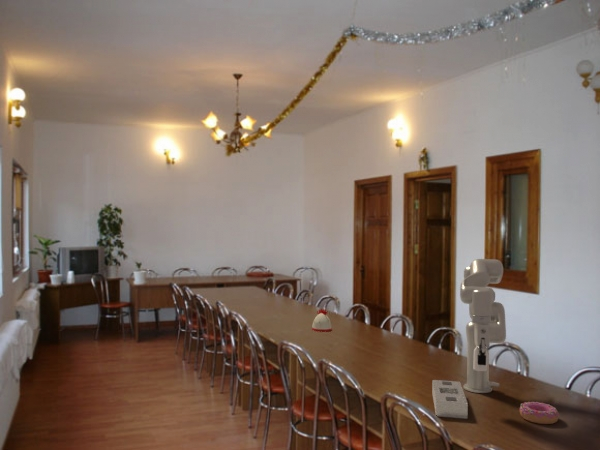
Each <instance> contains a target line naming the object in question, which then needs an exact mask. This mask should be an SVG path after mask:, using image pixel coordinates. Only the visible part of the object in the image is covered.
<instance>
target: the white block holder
mask: <svg viewBox="0 0 600 450" xmlns="http://www.w3.org/2000/svg"><path fill="white" fill-rule="evenodd" d="M431 382H432V383H431V384H432V385H431V387H432V389H431V390H432V391H431V392H432V401H433V404H434V405H433V407H434V412H435V416H436V415H437V416H436V417H440V418H441V417H443V418H455V419H465V420H467V419H468V414H469V413H468V410H469V409H468V407H469V405H468V404H469V403H468V400H467V398H466V394H465V392H464V388H463V387H462V383H461V381H456V380H455V381H453V380H442V379H441V380H439V379H432V381H431Z"/></svg>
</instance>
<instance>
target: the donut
mask: <svg viewBox="0 0 600 450" xmlns="http://www.w3.org/2000/svg"><path fill="white" fill-rule="evenodd" d="M519 414H520V416H521V417H522V418H523V419H524V420H526V421H528V422H531V423H534V424H538V425H539V424H540V425H552V424H555V423H557V422H558V420H559V416H560V414H559V411H558V409H557V408H556V407H554V406H553V405H550V404H547V403H544V402H541V401H536V402H535V401H528V402H527V401H526V402H523V403H520V407H519Z"/></svg>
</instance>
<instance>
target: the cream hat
mask: <svg viewBox="0 0 600 450" xmlns="http://www.w3.org/2000/svg"><path fill="white" fill-rule="evenodd" d="M316 313H317V315H316V316H315V318H314V319H313V321H312V324H311V325H312V326H311V330H312V331H313V330H314V331H313V332H318V331H324V332H325V331H327V332H331V331H332V329H333V328H332V323H331V319H330V318H329V317H328V315H327V314H328V311H327V310H326V309H324V308H320V309H319V310H318V311H317V312H316ZM324 332H323V333H324ZM325 333H326V332H325Z"/></svg>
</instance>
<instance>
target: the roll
mask: <svg viewBox="0 0 600 450" xmlns="http://www.w3.org/2000/svg"><path fill="white" fill-rule="evenodd" d="M480 347H482V346H480ZM480 350H482V349H480ZM478 355H479V352H478V347H476V348H475V349H474V360H473V369H474V370H476V371H487V363H488V352H487V351H486V365H478Z"/></svg>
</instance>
